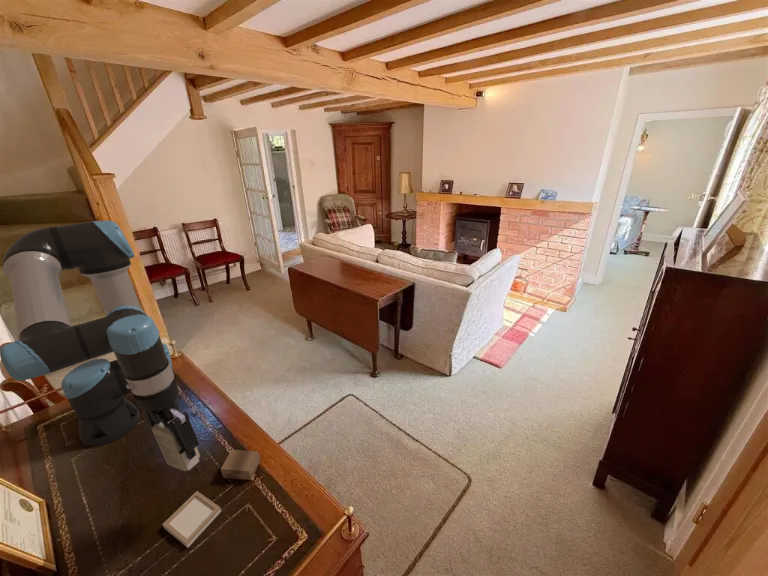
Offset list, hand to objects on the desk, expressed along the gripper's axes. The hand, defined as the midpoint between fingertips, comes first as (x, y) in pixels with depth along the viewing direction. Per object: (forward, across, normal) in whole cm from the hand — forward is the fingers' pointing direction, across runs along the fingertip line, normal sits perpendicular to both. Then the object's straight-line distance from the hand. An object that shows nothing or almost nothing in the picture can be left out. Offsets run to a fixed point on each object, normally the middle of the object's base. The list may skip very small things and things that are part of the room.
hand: (183, 459), depth 76 cm
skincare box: (+1, 0, 0) cm, 1 cm away
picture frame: (+16, +3, -4) cm, 16 cm away
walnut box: (+16, +3, +11) cm, 20 cm away
